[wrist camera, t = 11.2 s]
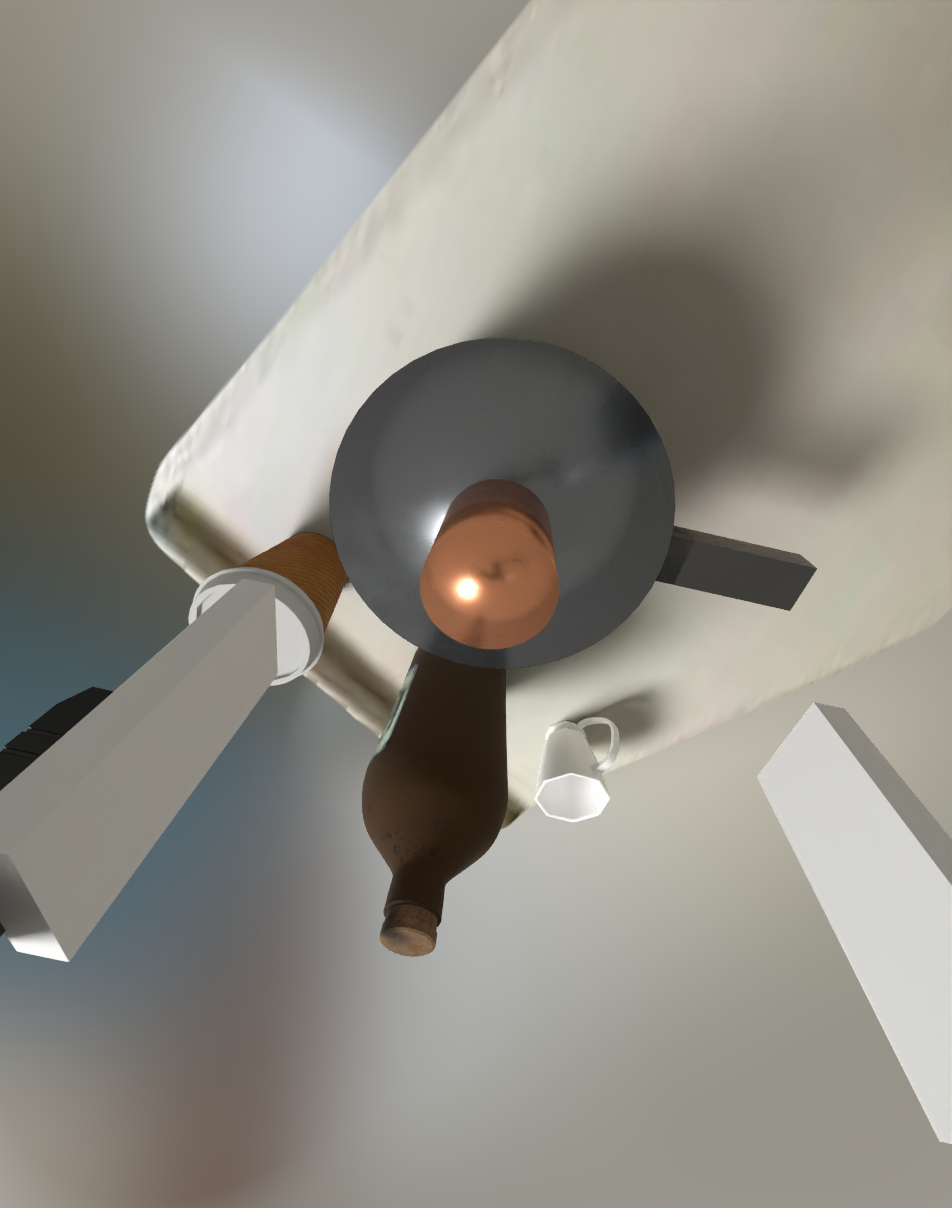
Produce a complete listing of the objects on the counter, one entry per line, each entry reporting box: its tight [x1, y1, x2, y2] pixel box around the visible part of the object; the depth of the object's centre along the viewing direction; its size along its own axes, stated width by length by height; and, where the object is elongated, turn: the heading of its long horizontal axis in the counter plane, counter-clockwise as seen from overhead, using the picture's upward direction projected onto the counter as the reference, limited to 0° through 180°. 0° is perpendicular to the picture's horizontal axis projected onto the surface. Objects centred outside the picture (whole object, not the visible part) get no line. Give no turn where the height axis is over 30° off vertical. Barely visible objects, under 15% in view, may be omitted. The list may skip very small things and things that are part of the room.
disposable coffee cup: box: [189, 533, 347, 686], centre depth 38 cm, size 10×10×12 cm
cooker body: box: [655, 526, 817, 611], centre depth 33 cm, size 28×19×12 cm, turn 78°
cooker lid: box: [329, 338, 675, 669], centre depth 24 cm, size 19×19×8 cm
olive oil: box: [362, 648, 508, 957], centre depth 37 cm, size 11×11×25 cm
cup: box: [534, 717, 619, 822], centre depth 47 cm, size 7×10×8 cm
